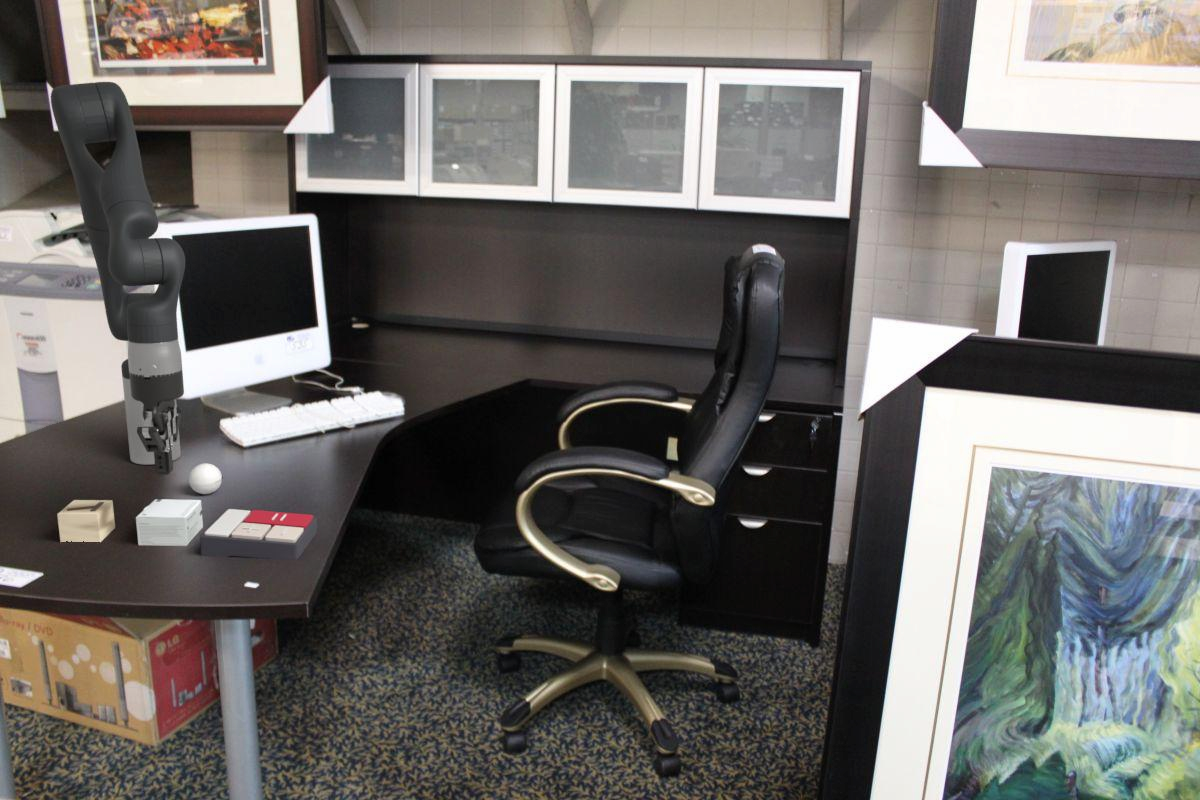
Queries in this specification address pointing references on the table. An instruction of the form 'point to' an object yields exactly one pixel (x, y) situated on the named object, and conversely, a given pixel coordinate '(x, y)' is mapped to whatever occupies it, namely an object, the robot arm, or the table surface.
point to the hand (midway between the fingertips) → (164, 472)
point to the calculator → (259, 534)
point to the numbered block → (86, 521)
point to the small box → (169, 522)
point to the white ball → (205, 478)
